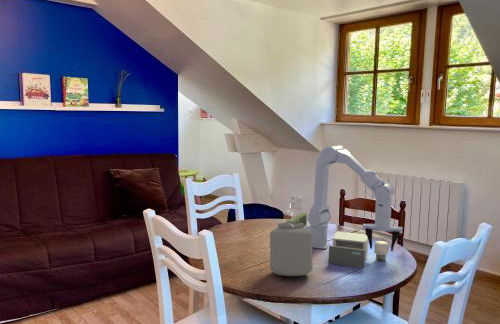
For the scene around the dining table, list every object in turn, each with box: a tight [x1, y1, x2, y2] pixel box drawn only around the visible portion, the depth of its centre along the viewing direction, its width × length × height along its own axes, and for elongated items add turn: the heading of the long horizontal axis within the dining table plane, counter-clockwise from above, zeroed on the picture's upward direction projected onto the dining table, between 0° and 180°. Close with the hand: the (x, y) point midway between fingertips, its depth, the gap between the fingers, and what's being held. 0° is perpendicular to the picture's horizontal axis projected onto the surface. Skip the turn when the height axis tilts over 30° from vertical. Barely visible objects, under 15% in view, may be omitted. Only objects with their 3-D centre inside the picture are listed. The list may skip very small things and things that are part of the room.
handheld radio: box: [285, 212, 308, 228], centre depth 200 cm, size 7×3×25 cm
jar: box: [269, 203, 313, 277], centre depth 146 cm, size 19×15×25 cm
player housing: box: [332, 231, 369, 261], centre depth 167 cm, size 13×10×7 cm
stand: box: [375, 254, 387, 263], centre depth 161 cm, size 4×4×3 cm
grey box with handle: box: [328, 245, 365, 268], centre depth 158 cm, size 13×10×7 cm
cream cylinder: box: [374, 240, 389, 256], centre depth 160 cm, size 5×5×4 cm
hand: (381, 249), depth 160 cm, fingers open, 7 cm apart
